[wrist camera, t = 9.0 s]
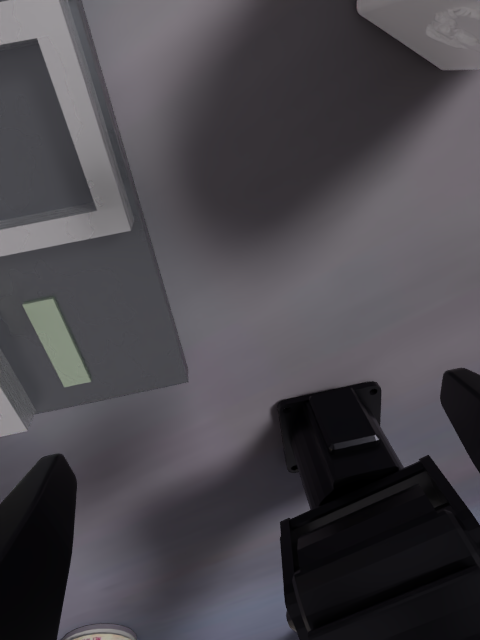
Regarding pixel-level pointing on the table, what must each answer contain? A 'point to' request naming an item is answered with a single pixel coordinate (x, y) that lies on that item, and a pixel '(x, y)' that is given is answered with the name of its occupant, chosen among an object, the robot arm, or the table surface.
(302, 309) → the table surface
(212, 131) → the table surface
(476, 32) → the jar
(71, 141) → the panel
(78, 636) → the aerosol can
